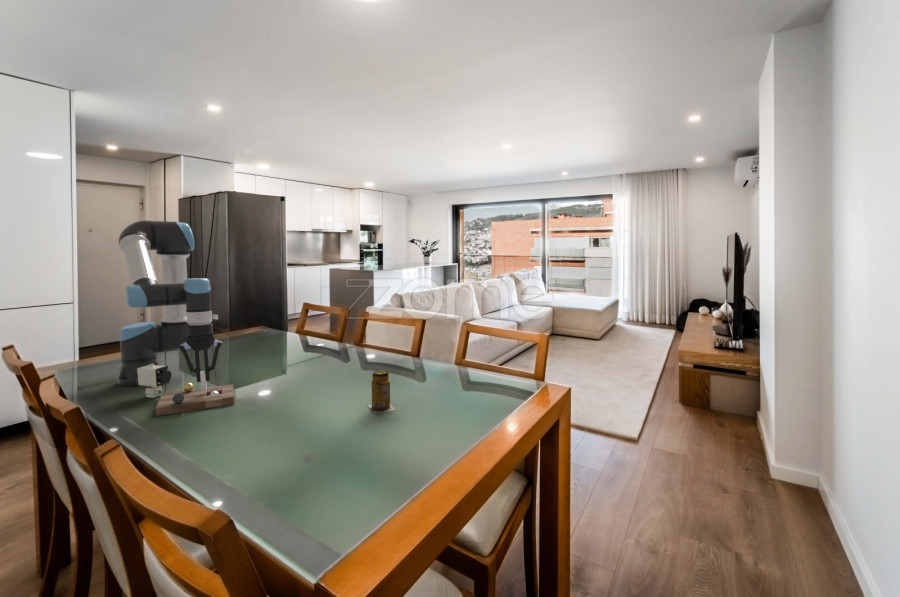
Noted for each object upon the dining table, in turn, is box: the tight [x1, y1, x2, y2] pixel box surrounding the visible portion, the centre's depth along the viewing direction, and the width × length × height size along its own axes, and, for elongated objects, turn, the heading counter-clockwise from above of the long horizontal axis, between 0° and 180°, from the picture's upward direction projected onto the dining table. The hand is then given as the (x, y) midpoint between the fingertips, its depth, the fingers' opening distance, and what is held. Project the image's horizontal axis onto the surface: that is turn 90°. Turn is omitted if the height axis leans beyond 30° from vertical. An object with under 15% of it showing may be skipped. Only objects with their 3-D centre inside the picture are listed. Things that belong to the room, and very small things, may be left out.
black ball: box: [172, 393, 184, 403], centre depth 134 cm, size 3×3×3 cm
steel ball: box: [209, 391, 219, 396], centre depth 144 cm, size 3×3×3 cm
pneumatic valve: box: [134, 364, 172, 399], centre depth 148 cm, size 6×12×12 cm, turn 78°
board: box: [155, 383, 235, 417], centre depth 142 cm, size 16×22×2 cm
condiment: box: [367, 369, 396, 414], centre depth 136 cm, size 7×8×12 cm
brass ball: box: [182, 382, 195, 392], centre depth 146 cm, size 3×3×3 cm
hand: (204, 390), depth 143 cm, fingers closed
